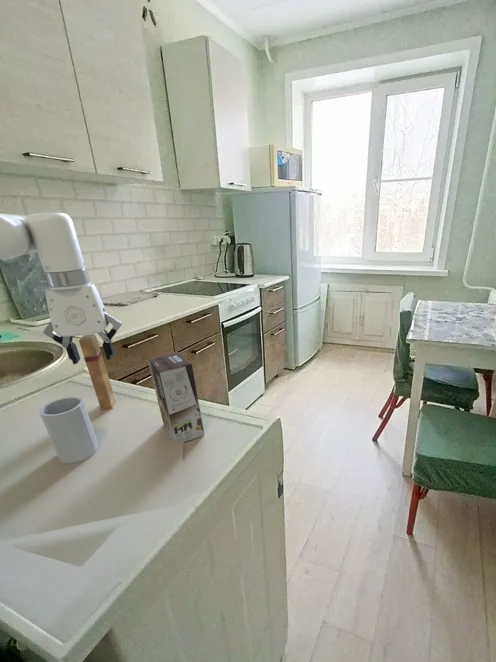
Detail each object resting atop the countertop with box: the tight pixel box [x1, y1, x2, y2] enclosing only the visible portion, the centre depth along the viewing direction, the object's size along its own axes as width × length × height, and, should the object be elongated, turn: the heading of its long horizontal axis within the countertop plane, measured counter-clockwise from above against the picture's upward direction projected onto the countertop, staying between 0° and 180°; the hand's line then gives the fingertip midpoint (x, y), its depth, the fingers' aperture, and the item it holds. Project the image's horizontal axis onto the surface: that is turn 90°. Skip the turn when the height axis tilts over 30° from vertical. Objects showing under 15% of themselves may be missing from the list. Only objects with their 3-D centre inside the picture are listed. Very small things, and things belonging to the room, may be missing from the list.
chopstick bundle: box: [78, 333, 117, 411], centre depth 82 cm, size 3×4×18 cm, turn 14°
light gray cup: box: [38, 396, 100, 465], centre depth 67 cm, size 7×7×11 cm
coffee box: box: [147, 351, 205, 444], centre depth 72 cm, size 9×6×16 cm
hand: (93, 359), depth 80 cm, fingers open, 6 cm apart
